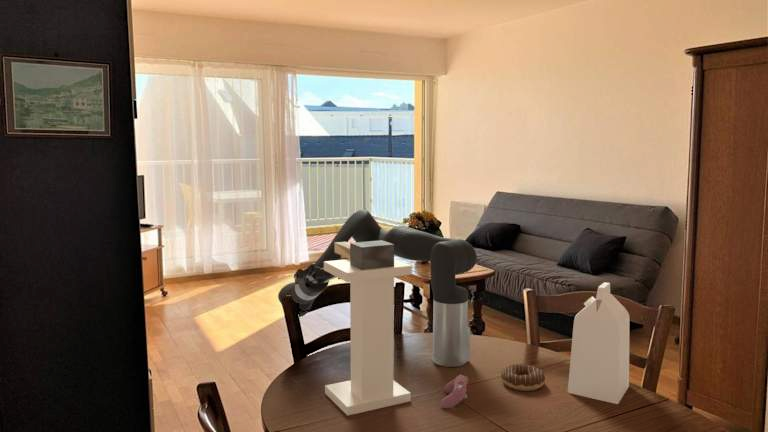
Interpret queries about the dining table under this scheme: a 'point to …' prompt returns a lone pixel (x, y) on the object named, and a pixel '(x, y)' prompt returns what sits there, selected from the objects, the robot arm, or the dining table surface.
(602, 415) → the dining table surface
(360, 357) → the stand
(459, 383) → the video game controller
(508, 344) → the dining table surface
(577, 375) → the milk
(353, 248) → the grey and beige blocks
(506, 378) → the donut
